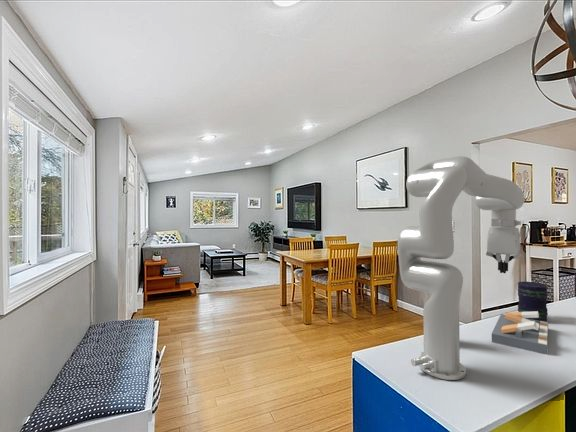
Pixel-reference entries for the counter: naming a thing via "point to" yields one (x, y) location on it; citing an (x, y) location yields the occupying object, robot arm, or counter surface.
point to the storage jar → (533, 299)
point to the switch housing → (522, 336)
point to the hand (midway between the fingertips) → (503, 272)
